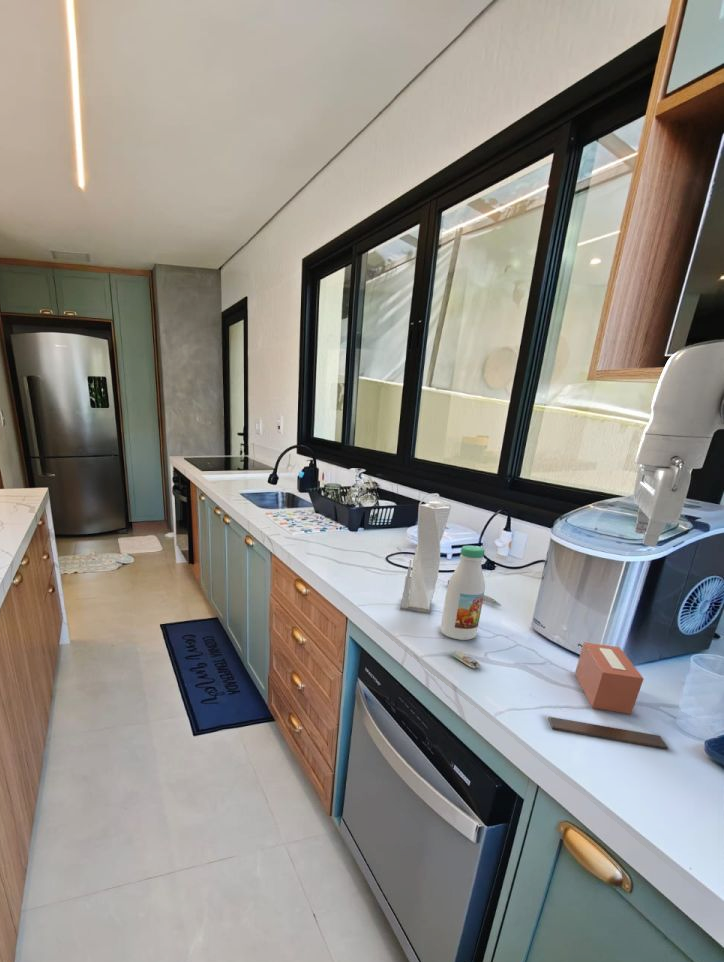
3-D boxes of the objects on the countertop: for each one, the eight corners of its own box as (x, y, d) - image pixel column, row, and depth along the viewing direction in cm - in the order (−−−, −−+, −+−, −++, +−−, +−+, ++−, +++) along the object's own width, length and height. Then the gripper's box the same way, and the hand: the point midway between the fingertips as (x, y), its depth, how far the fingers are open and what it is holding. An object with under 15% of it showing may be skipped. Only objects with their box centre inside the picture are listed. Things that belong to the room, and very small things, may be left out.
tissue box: (609, 679, 96) (619, 646, 93) (631, 714, 85) (644, 677, 83) (574, 674, 97) (583, 641, 95) (591, 707, 87) (603, 671, 84)
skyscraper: (403, 597, 133) (418, 491, 123) (435, 602, 131) (453, 494, 120) (400, 609, 126) (415, 496, 115) (433, 614, 123) (452, 500, 113)
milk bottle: (438, 636, 111) (452, 549, 104) (441, 623, 118) (455, 541, 111) (475, 643, 109) (493, 554, 101) (476, 629, 115) (492, 545, 108)
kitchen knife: (446, 586, 143) (447, 579, 142) (449, 585, 143) (450, 579, 142) (499, 609, 128) (501, 601, 127) (502, 608, 128) (503, 601, 127)
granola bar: (448, 655, 103) (449, 650, 103) (456, 653, 104) (457, 648, 104) (473, 670, 98) (474, 665, 97) (481, 668, 98) (482, 663, 98)
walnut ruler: (659, 737, 79) (660, 735, 79) (667, 749, 77) (668, 747, 76) (548, 718, 83) (548, 716, 83) (552, 728, 81) (552, 726, 81)
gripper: (712, 461, 70) (679, 556, 75) (681, 451, 87) (656, 529, 92) (658, 458, 73) (630, 550, 78) (638, 448, 90) (616, 524, 95)
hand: (644, 538), depth 85 cm, fingers open, 8 cm apart
